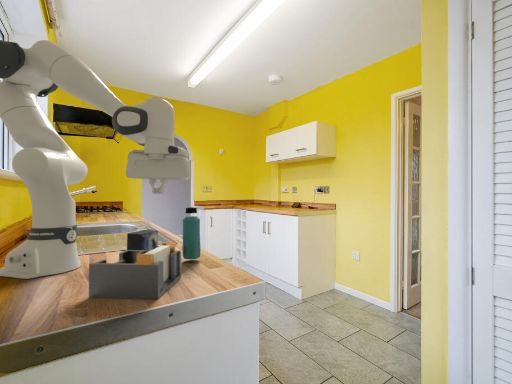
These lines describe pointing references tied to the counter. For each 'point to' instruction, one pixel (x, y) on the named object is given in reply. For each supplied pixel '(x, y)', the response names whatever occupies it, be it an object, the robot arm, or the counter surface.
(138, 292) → the rack
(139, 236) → the small box
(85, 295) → the counter surface
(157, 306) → the counter surface
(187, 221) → the beverage bottle
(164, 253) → the panel
